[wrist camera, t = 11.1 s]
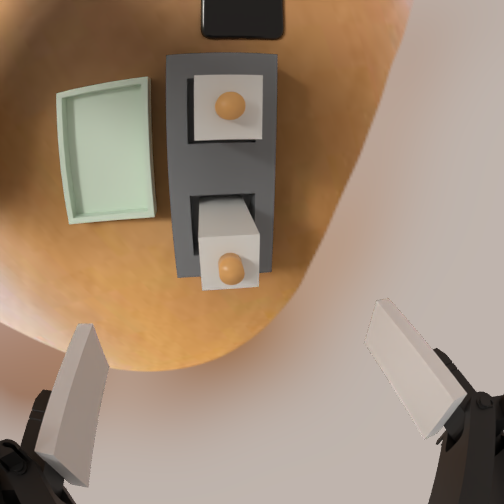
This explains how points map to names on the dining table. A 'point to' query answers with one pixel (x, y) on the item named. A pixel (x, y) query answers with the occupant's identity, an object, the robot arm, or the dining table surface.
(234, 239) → the plug
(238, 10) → the smartphone
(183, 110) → the gray block holder
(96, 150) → the tray
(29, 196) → the dining table surface
